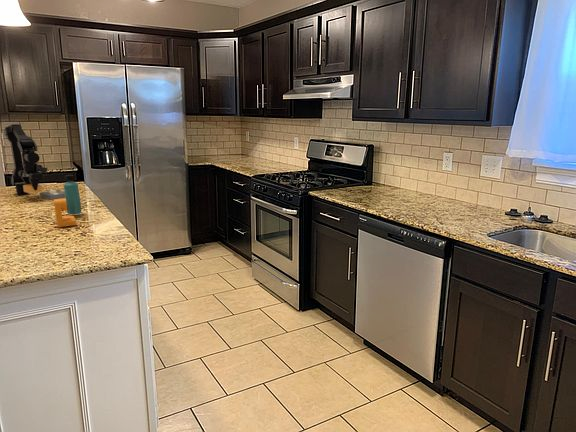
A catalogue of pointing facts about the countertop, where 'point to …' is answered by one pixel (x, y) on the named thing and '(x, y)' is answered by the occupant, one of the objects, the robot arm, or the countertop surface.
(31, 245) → the countertop surface
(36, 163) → the robot arm
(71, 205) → the beverage bottle
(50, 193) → the breaker button
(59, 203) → the bracket
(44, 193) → the panel
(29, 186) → the cap
